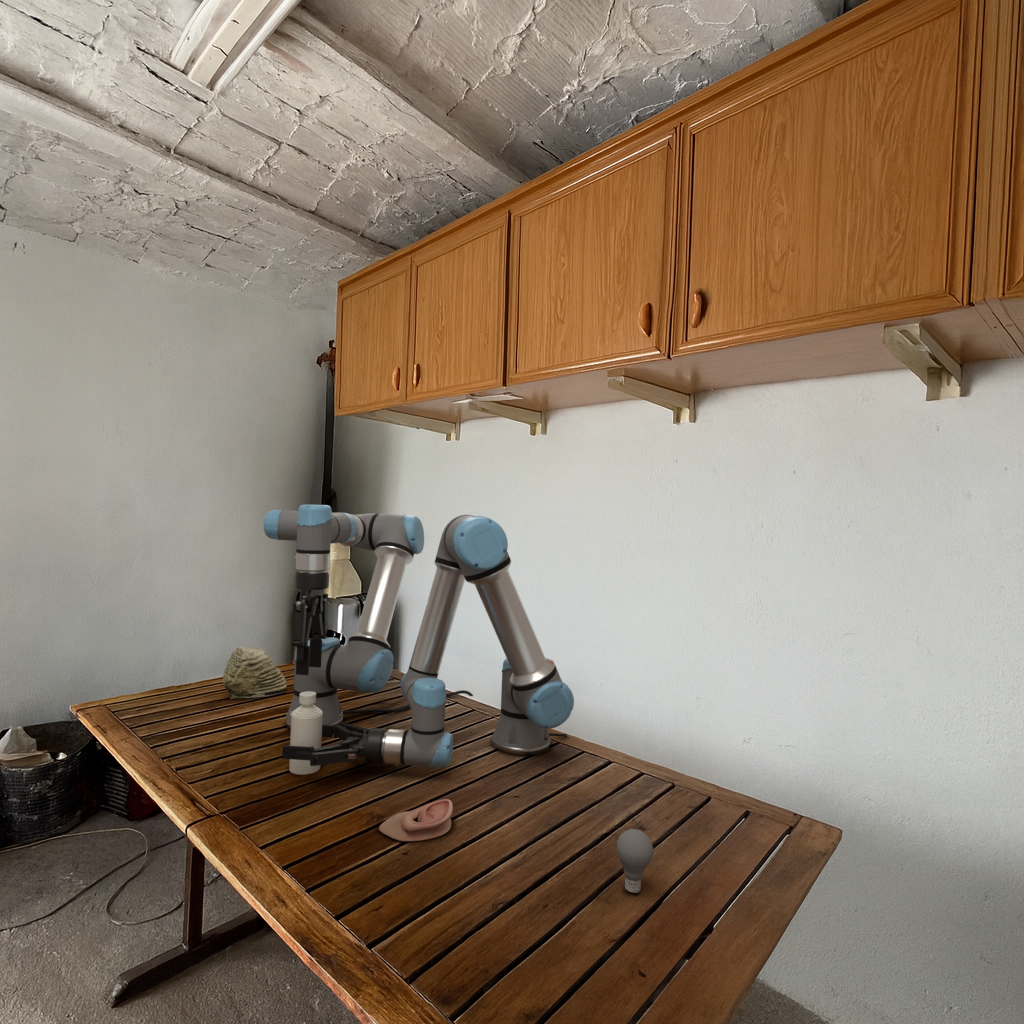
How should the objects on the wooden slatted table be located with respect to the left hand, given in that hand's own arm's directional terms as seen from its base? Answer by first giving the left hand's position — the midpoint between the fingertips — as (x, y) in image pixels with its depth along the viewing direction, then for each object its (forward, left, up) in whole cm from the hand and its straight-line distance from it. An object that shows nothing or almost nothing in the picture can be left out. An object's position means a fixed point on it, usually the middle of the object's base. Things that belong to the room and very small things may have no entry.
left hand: (308, 670), depth 147 cm
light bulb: (-10, +79, -23) cm, 83 cm away
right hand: (+2, -2, -16) cm, 17 cm away
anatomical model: (0, +38, -23) cm, 45 cm away
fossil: (-19, -57, -23) cm, 64 cm away
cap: (0, 0, -6) cm, 6 cm away
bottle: (0, 0, -23) cm, 23 cm away
